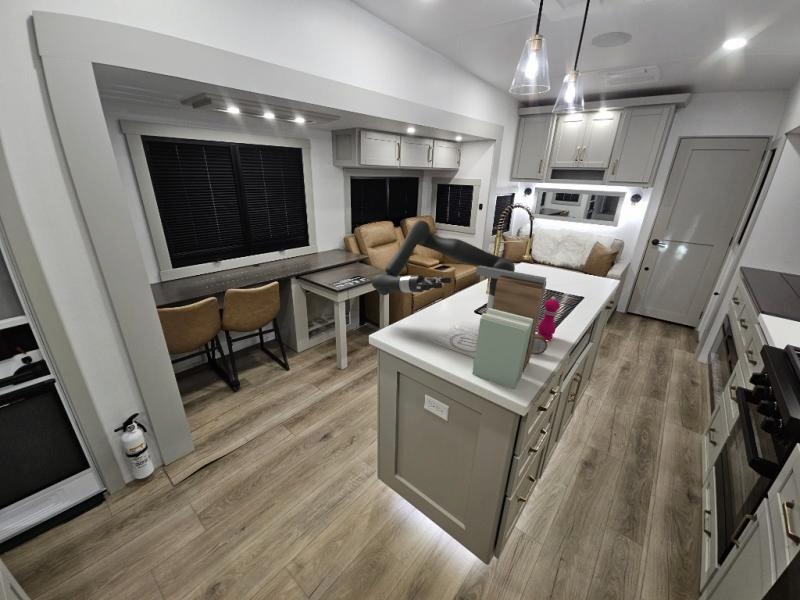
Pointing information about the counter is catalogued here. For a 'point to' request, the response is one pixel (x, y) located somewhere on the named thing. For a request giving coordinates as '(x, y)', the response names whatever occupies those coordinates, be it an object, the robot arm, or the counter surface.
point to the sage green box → (501, 347)
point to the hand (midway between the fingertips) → (446, 282)
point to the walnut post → (520, 303)
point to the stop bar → (509, 275)
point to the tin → (539, 344)
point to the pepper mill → (548, 319)
